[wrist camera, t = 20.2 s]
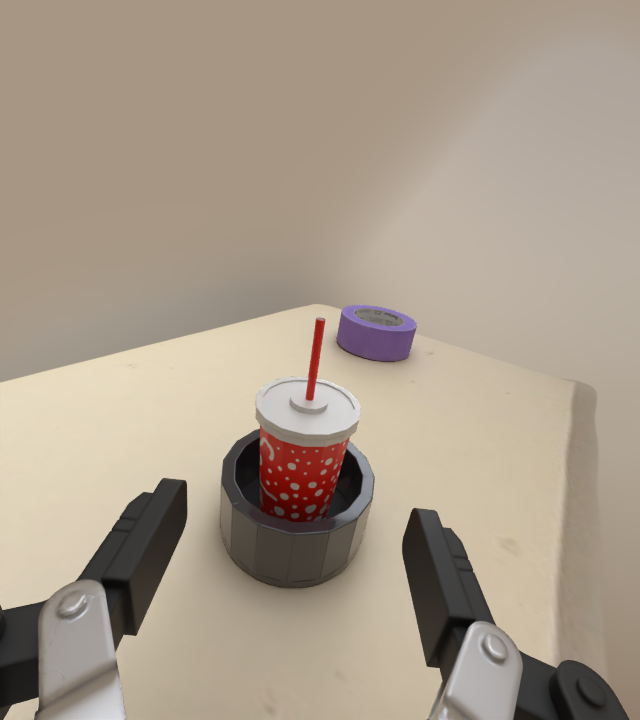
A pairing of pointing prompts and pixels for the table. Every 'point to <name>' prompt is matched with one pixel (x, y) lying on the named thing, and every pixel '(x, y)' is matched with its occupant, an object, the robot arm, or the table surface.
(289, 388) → the beverage cup
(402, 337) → the tape roll
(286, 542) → the socket
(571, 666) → the robot arm
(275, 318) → the table surface
